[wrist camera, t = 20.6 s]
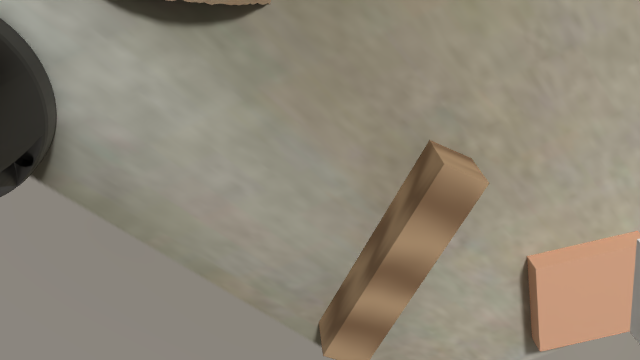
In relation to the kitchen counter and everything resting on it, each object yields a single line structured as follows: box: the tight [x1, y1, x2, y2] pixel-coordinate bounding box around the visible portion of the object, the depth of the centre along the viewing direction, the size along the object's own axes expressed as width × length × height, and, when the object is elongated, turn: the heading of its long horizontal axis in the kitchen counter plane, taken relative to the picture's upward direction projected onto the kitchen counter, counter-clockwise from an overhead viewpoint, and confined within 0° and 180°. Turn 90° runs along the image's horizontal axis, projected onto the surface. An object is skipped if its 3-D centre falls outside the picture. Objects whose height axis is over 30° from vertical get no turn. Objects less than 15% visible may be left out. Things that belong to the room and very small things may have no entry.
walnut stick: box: [319, 140, 489, 360], centre depth 49 cm, size 20×4×4 cm, turn 154°
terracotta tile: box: [527, 231, 640, 352], centre depth 54 cm, size 2×10×10 cm
